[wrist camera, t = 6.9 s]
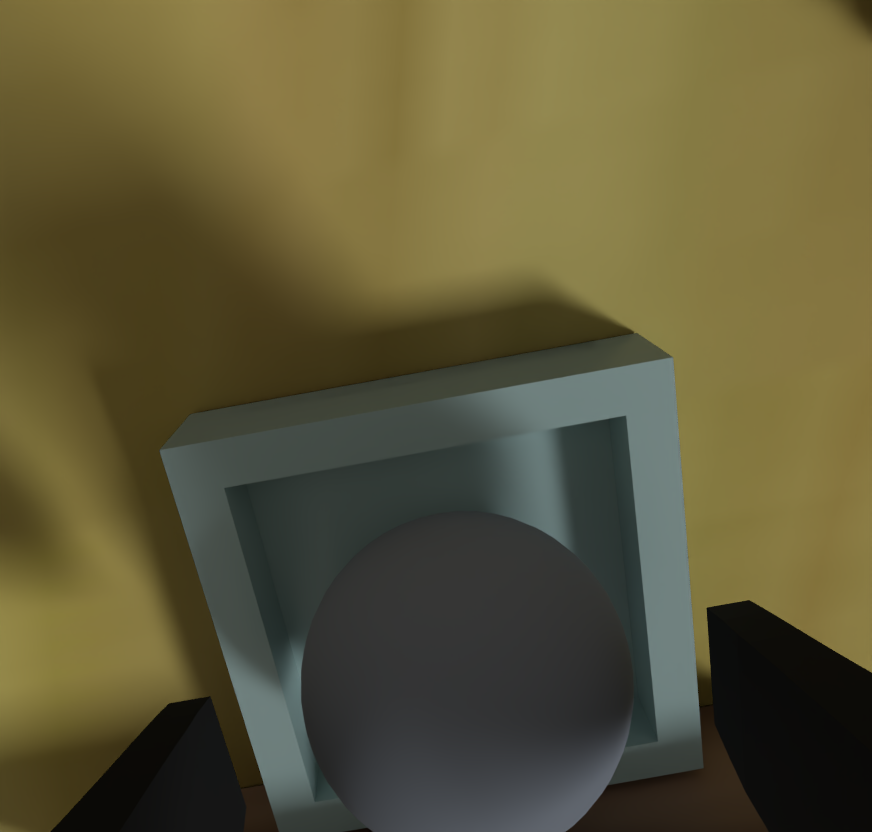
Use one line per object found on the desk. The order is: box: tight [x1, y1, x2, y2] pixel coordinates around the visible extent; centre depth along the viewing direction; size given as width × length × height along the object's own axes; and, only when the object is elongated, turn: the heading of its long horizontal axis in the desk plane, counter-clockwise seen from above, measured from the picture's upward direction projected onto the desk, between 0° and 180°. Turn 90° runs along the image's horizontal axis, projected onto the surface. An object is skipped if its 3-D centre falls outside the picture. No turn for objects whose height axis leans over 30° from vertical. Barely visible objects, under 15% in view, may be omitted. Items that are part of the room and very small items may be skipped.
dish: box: [159, 333, 704, 832], centre depth 14 cm, size 8×8×2 cm
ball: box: [301, 511, 634, 832], centre depth 11 cm, size 5×5×5 cm
